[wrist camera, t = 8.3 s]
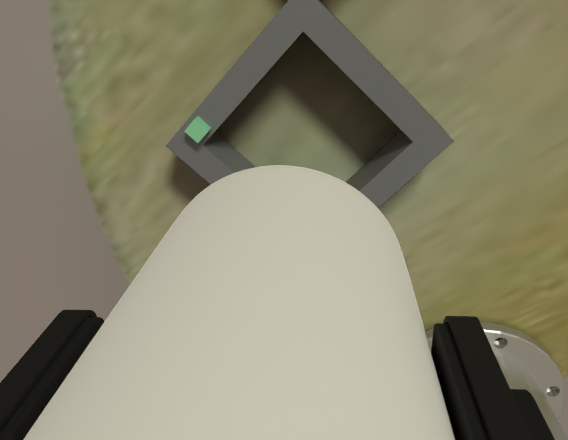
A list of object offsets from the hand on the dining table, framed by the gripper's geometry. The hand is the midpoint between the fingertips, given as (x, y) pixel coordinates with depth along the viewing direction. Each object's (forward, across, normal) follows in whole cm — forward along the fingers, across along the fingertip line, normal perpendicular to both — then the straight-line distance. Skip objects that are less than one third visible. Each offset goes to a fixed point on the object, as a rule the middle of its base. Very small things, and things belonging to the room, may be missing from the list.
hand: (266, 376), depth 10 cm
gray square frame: (+20, 0, 0) cm, 20 cm away
